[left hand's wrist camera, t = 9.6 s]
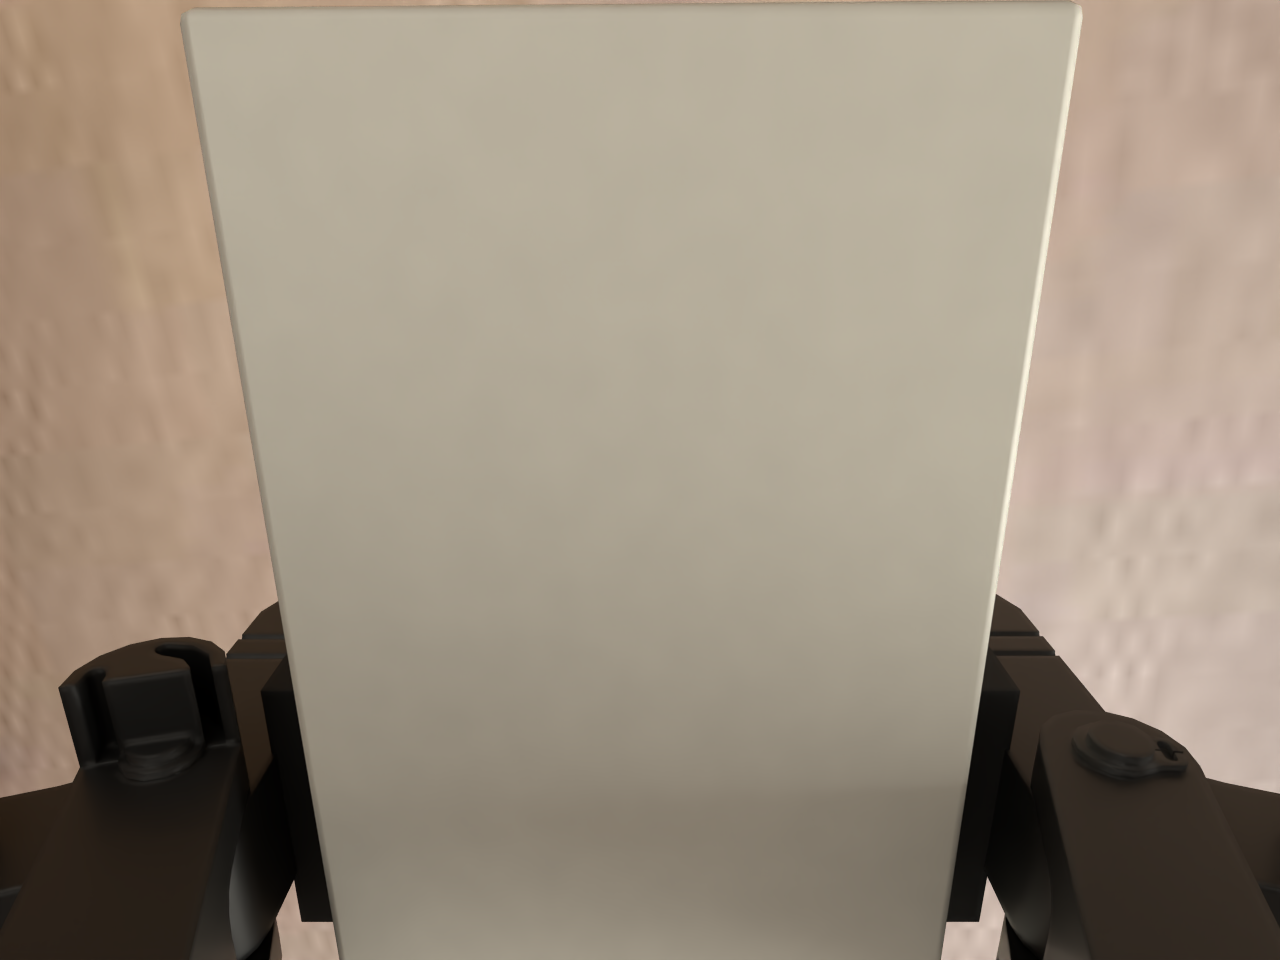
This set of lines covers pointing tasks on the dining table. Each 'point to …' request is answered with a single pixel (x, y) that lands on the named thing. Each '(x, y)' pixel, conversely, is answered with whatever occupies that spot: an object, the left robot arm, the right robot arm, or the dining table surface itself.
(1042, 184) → the beam
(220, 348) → the dining table surface
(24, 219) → the dining table surface
